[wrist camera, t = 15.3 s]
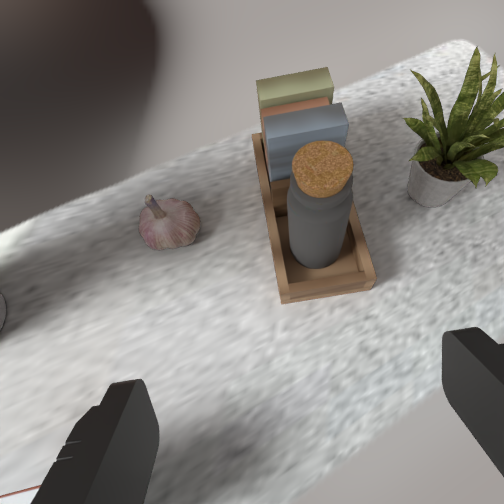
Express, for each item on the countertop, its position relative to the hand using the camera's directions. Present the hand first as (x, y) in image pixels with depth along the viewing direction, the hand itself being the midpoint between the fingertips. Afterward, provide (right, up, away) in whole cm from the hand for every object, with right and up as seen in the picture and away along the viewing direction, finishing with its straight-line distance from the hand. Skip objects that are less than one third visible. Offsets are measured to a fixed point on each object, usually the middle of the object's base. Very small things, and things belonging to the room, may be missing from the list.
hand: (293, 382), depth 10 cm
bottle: (+6, +4, +32) cm, 33 cm away
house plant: (+22, +10, +34) cm, 42 cm away
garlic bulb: (-11, +6, +36) cm, 38 cm away
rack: (+6, +8, +35) cm, 36 cm away
